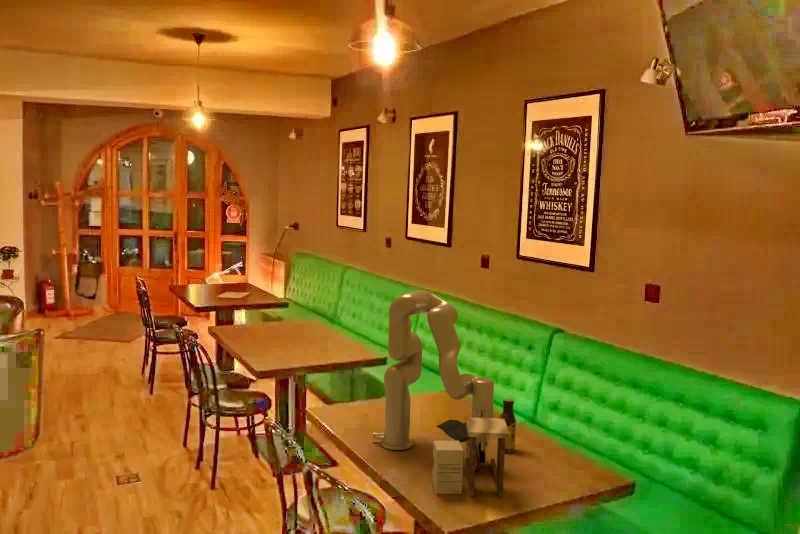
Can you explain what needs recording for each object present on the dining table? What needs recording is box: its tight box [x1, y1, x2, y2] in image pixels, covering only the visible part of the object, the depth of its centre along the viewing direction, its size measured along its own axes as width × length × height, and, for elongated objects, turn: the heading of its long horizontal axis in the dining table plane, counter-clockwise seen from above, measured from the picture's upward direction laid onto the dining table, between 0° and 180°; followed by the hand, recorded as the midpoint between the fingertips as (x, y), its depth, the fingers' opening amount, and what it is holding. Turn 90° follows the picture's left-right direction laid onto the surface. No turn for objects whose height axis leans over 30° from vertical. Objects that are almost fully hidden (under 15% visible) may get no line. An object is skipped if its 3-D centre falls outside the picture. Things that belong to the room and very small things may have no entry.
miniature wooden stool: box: [464, 416, 510, 499], centre depth 234 cm, size 13×27×22 cm, turn 178°
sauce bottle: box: [499, 398, 517, 454], centre depth 262 cm, size 7×6×20 cm
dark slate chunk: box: [436, 419, 470, 443], centre depth 280 cm, size 15×22×5 cm
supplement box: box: [431, 440, 465, 495], centre depth 227 cm, size 9×9×15 cm
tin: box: [464, 439, 481, 471], centre depth 247 cm, size 15×3×8 cm, turn 5°
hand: (480, 462), depth 248 cm, fingers closed
